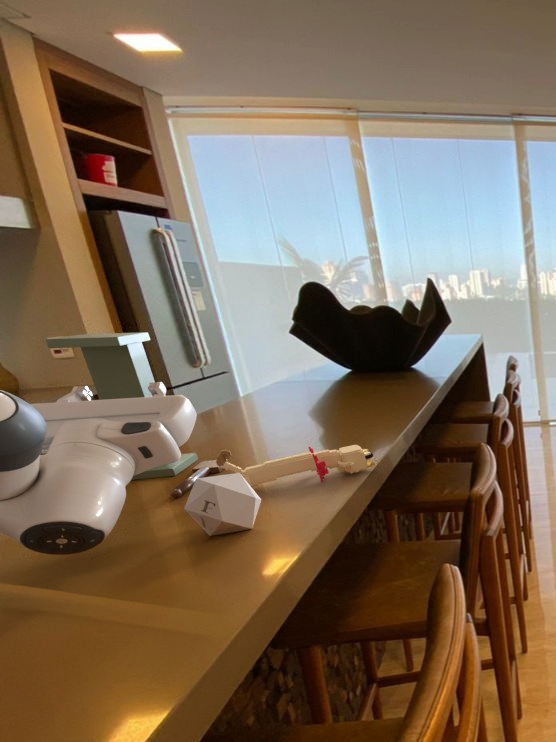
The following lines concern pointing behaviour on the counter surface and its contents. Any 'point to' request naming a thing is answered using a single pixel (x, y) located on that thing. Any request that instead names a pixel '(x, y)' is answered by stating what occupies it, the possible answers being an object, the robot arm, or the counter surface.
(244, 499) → the die
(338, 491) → the counter surface
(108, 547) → the counter surface
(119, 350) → the spoon stand
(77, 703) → the counter surface
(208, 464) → the spoon
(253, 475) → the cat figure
